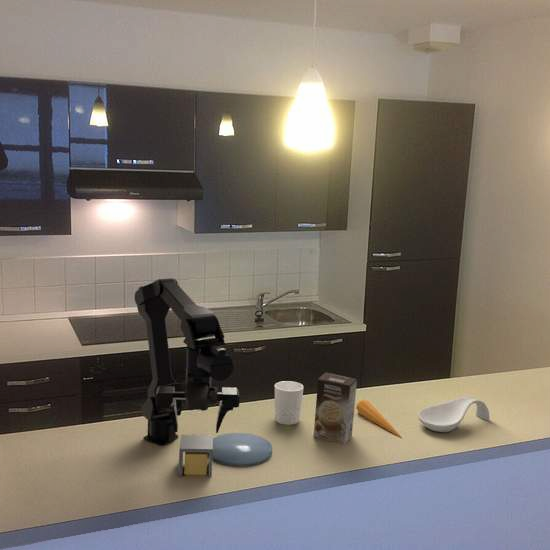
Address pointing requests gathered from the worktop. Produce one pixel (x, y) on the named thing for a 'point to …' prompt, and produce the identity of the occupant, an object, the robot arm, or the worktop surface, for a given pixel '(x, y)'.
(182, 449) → the cover
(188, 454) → the block
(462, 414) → the spoon rest
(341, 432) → the coffee box
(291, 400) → the white cup
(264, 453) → the dish
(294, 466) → the worktop surface
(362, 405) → the carrot
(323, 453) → the worktop surface
